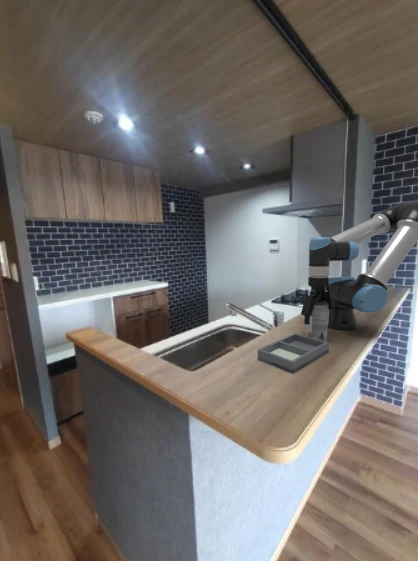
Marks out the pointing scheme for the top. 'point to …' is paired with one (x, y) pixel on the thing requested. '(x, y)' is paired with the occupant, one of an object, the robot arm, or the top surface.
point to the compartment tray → (293, 352)
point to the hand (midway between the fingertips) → (316, 327)
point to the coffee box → (319, 321)
